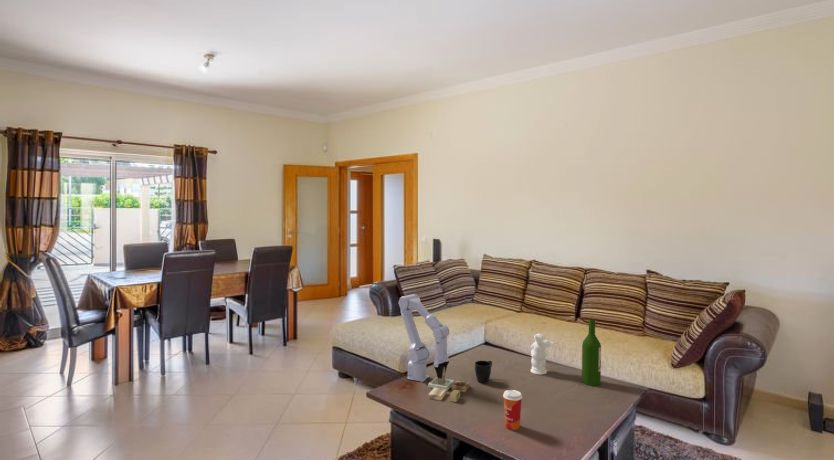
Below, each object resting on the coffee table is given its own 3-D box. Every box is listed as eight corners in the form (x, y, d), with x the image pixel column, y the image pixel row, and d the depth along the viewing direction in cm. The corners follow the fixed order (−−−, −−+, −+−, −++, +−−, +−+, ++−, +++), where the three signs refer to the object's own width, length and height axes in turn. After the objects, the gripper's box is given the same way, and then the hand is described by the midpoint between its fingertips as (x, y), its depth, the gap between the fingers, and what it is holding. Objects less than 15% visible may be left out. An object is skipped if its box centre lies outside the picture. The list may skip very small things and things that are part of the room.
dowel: (443, 384, 214) (443, 368, 213) (437, 383, 215) (437, 367, 215) (445, 381, 217) (446, 366, 216) (439, 380, 218) (439, 365, 218)
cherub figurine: (534, 367, 241) (535, 328, 240) (556, 372, 234) (557, 332, 233) (526, 373, 231) (527, 333, 230) (549, 379, 224) (549, 337, 223)
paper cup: (500, 422, 178) (500, 389, 177) (518, 421, 179) (518, 388, 178) (506, 432, 170) (506, 397, 170) (524, 431, 171) (525, 396, 170)
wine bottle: (601, 387, 213) (602, 322, 212) (582, 384, 216) (582, 321, 215) (599, 380, 222) (600, 318, 221) (581, 378, 225) (582, 317, 223)
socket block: (451, 389, 211) (451, 385, 211) (456, 384, 217) (456, 380, 217) (465, 392, 208) (465, 388, 208) (469, 386, 214) (469, 383, 214)
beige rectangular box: (428, 399, 201) (428, 393, 201) (434, 392, 209) (434, 387, 209) (440, 401, 199) (440, 396, 199) (446, 394, 206) (446, 389, 206)
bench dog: (450, 401, 198) (450, 393, 198) (454, 396, 203) (454, 389, 203) (456, 402, 197) (456, 394, 197) (460, 398, 202) (460, 390, 201)
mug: (498, 379, 224) (498, 361, 224) (485, 385, 215) (485, 367, 215) (484, 375, 230) (484, 357, 229) (471, 381, 221) (471, 363, 221)
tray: (428, 387, 214) (428, 384, 214) (435, 380, 223) (435, 377, 223) (446, 391, 209) (446, 387, 209) (454, 383, 218) (454, 380, 218)
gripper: (443, 355, 207) (443, 383, 208) (453, 346, 220) (453, 372, 221) (429, 353, 210) (429, 380, 211) (441, 345, 223) (441, 370, 224)
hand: (441, 376), depth 216 cm, fingers closed on dowel, 3 cm apart
